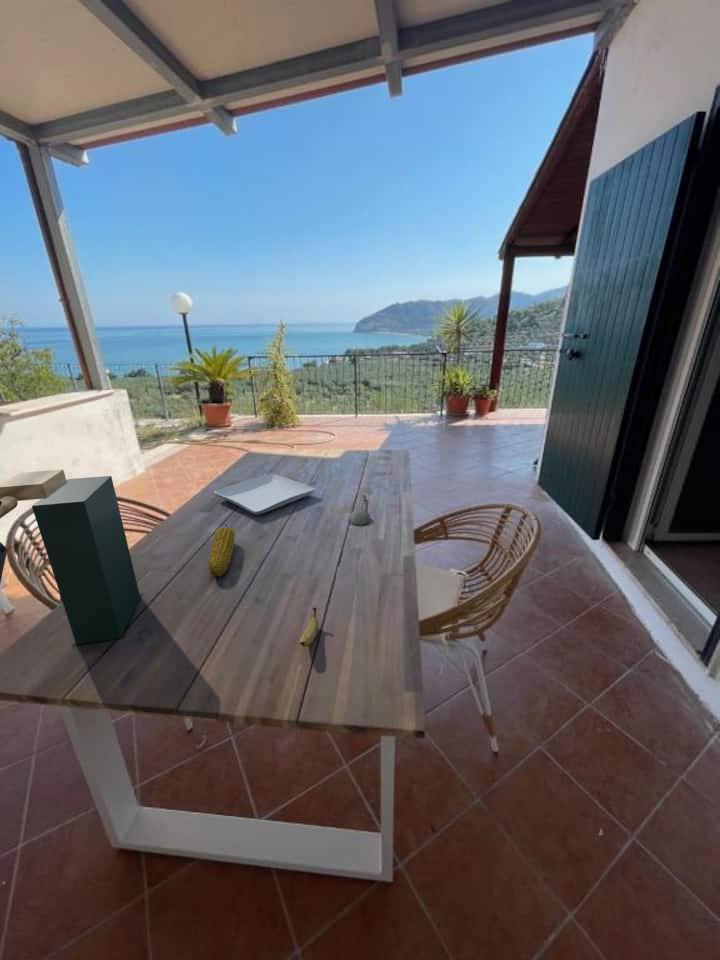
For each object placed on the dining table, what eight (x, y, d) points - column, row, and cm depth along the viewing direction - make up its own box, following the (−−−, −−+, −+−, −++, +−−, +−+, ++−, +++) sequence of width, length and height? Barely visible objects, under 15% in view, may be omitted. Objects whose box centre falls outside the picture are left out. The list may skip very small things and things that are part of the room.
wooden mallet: (-90, 560, 42) (-99, 540, 42) (25, 486, 64) (21, 472, 63) (-25, 552, 44) (-32, 533, 43) (67, 482, 65) (63, 469, 64)
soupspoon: (348, 526, 126) (368, 528, 125) (348, 517, 124) (368, 519, 124) (355, 498, 146) (373, 499, 145) (355, 490, 145) (373, 491, 144)
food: (216, 542, 115) (213, 524, 113) (236, 540, 116) (234, 522, 114) (208, 583, 96) (204, 562, 94) (231, 580, 97) (229, 559, 95)
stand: (76, 645, 77) (31, 505, 66) (101, 601, 89) (67, 479, 79) (121, 637, 78) (84, 501, 68) (140, 595, 91) (111, 475, 81)
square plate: (213, 500, 145) (212, 490, 144) (272, 481, 164) (272, 472, 163) (256, 521, 128) (255, 510, 127) (317, 496, 148) (316, 487, 146)
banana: (309, 659, 73) (308, 642, 71) (297, 658, 73) (295, 641, 72) (321, 622, 82) (320, 607, 81) (310, 621, 83) (309, 606, 81)
